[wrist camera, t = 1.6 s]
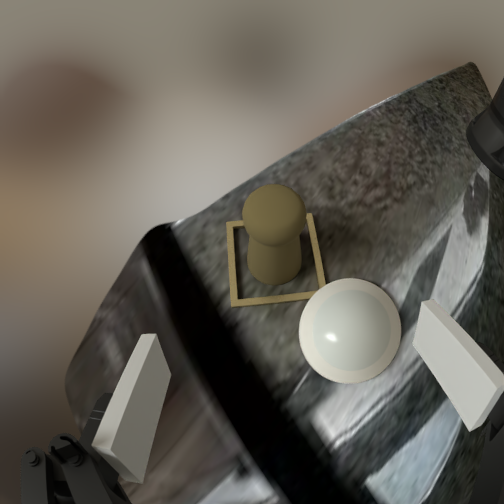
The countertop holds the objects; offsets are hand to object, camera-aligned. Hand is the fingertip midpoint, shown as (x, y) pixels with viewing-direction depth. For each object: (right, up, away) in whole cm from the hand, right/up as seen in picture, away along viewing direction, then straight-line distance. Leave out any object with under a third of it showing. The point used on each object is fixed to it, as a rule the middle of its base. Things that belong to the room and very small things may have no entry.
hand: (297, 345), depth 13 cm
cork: (0, +3, +19) cm, 19 cm away
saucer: (+8, -4, +15) cm, 17 cm away
